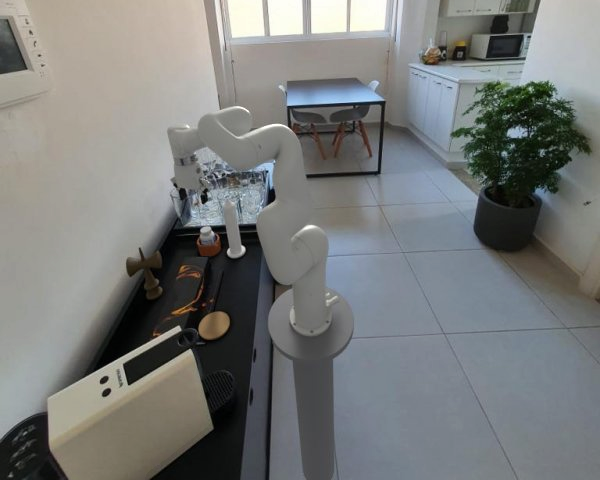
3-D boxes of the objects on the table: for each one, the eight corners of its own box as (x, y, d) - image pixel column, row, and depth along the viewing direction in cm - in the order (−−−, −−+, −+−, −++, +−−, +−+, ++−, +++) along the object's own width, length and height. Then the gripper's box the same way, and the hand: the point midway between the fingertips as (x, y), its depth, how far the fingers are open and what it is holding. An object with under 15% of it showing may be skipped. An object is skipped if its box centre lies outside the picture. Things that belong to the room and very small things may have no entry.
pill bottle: (210, 243, 127) (206, 223, 123) (220, 247, 124) (216, 227, 120) (200, 251, 122) (195, 231, 118) (209, 255, 120) (205, 235, 116)
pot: (217, 240, 129) (215, 230, 127) (223, 251, 122) (222, 241, 120) (196, 248, 125) (194, 238, 123) (202, 260, 118) (200, 249, 116)
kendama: (140, 292, 105) (123, 245, 97) (170, 284, 108) (156, 237, 100) (138, 306, 100) (120, 257, 92) (169, 297, 102) (155, 249, 94)
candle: (228, 247, 124) (218, 193, 114) (245, 245, 125) (237, 191, 114) (226, 259, 118) (215, 203, 107) (245, 257, 118) (236, 201, 108)
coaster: (223, 307, 97) (223, 306, 97) (234, 329, 90) (234, 327, 90) (195, 322, 93) (194, 320, 93) (203, 346, 86) (203, 344, 86)
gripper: (212, 157, 109) (219, 198, 116) (173, 152, 115) (182, 192, 122) (198, 166, 103) (207, 209, 110) (158, 161, 109) (169, 202, 116)
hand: (194, 200), depth 116 cm, fingers open, 9 cm apart
